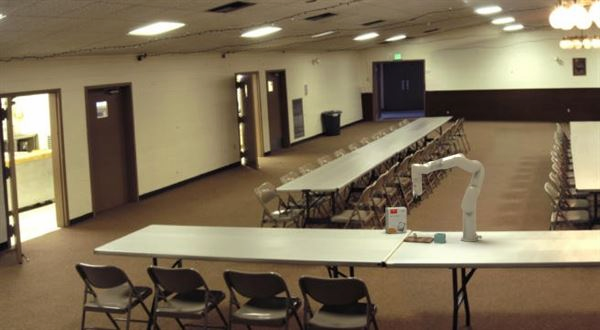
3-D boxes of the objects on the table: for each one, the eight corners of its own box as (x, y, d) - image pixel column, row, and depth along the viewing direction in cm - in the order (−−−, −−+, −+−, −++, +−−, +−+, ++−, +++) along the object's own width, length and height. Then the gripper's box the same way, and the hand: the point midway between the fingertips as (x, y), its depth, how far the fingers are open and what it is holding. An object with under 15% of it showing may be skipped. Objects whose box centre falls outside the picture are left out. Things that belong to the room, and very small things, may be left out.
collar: (445, 241, 532) (445, 233, 531) (443, 243, 525) (443, 235, 525) (436, 240, 535) (436, 232, 534) (434, 242, 528) (434, 234, 528)
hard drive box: (387, 234, 563) (387, 209, 561) (385, 232, 571) (384, 207, 569) (407, 232, 565) (406, 208, 563) (404, 230, 573) (403, 206, 571)
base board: (434, 239, 539) (434, 232, 538) (429, 243, 526) (429, 236, 526) (408, 237, 547) (408, 230, 547) (403, 241, 535) (403, 234, 534)
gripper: (418, 181, 533) (418, 204, 535) (424, 178, 548) (425, 200, 550) (408, 181, 536) (409, 204, 538) (415, 178, 551) (415, 200, 553)
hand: (417, 202), depth 544 cm, fingers open, 9 cm apart
